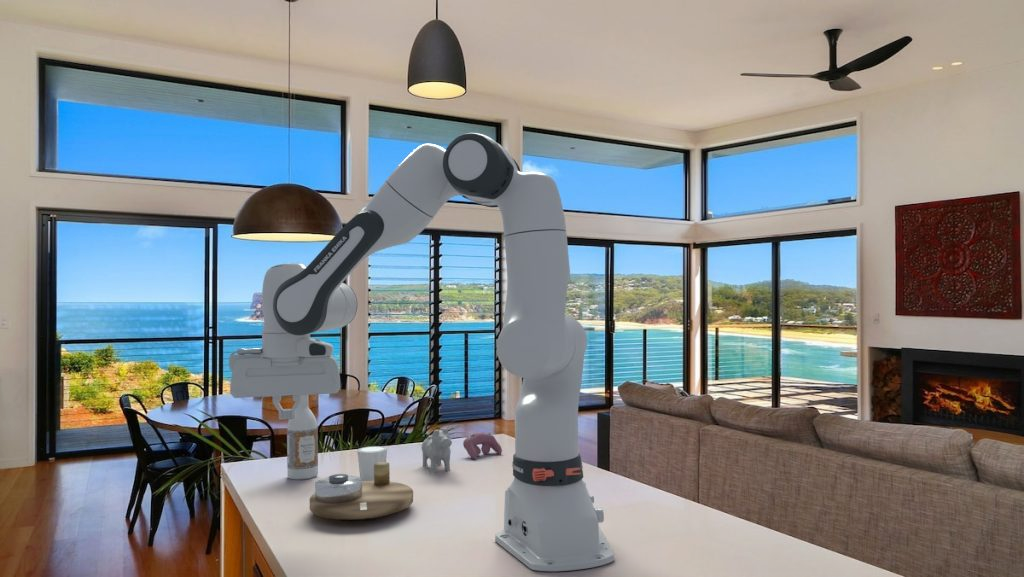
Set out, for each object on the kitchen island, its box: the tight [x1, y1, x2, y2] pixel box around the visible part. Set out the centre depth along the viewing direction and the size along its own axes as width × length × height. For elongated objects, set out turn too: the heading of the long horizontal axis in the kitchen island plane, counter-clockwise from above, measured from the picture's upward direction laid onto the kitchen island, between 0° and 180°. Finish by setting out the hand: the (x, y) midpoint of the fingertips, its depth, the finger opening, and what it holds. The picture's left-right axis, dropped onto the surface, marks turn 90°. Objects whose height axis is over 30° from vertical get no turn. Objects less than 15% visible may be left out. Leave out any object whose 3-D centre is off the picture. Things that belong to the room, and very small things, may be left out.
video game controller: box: [462, 432, 503, 460], centre depth 178 cm, size 10×5×7 cm, turn 130°
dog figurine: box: [421, 427, 453, 474], centre depth 163 cm, size 5×13×11 cm, turn 27°
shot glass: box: [356, 445, 388, 481], centre depth 156 cm, size 7×7×7 cm
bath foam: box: [286, 395, 319, 481], centre depth 159 cm, size 7×7×20 cm
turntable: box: [309, 461, 414, 520], centre depth 132 cm, size 20×20×6 cm
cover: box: [314, 473, 362, 504], centre depth 131 cm, size 9×9×4 cm
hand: (287, 418), depth 129 cm, fingers closed
